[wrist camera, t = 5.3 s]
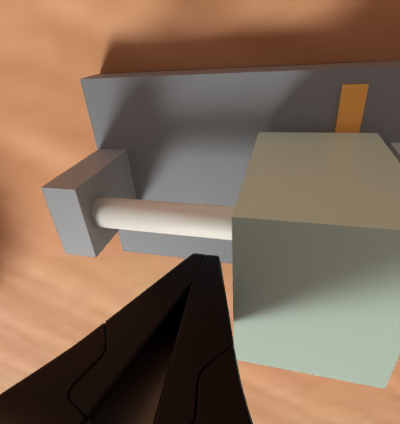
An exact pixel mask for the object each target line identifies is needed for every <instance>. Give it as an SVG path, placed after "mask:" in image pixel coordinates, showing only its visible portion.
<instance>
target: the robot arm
mask: <svg viewBox="0 0 400 424" xmlns="http://www.w3.org/2000/svg"><path fill="white" fill-rule="evenodd" d="M0 424H253V422H252V419H251V416H250V412H249V409H248V406H247V402H246V399H245V395H244V392H243V388H242V384H241V380H240V375H239V370H238V365H237V360H236V353H235V349H234V342H233V336H232V330H231V324H230V317H229V311H228V305H227V299H226V293H225V287H224V280H223V274H222V268H221V262H220V257H219V256H218V255H209V254H207V255H206V254H200V253H193V254H191V255H190V256H189V257H188V258H186V259H185V260H184V261H182V262H181V263H180V264H179V265H177V266H176V267H175V268H173V269H172V270H171V271H170V272H168V273H167V274H166V275H164V276H163V277H162V278H161V279H159V280H158V281H157V282H156V283H154V284H153V285H152V286H150V287H149V288H148V289H147V290H145V291H144V292H143V293H141V294H140V295H139V296H138V297H136V298H135V299H134V300H132V301H131V302H130V303H129V304H127V305H126V306H125V307H124V308H122V309H121V310H120V311H118V312H117V313H116V314H115V315H113V316H112V317H111V318H109V319H108V320H107V321H106V322H105V323H103V324H102V325H100V326H99V327H98V328H96V329H95V330H94V331H93V332H91V333H90V334H89V335H87V336H86V337H85V338H83V339H82V340H81V341H79V342H78V343H77V344H75V345H74V346H72V347H71V348H70V349H68V350H67V351H65V352H64V353H62V354H61V355H59V356H58V357H56V358H55V359H53V360H52V361H50V362H49V363H47V364H46V365H44V366H43V367H41V368H40V369H38V370H37V371H35V372H34V373H32V374H31V375H29V376H28V377H26V378H25V379H23V380H22V381H20V382H18V383H17V384H15V385H14V386H12V387H11V388H9V389H8V390H6V391H5V392H3V393H2V394H0Z"/></svg>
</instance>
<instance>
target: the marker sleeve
mask: <svg viewBox="0 0 400 424" xmlns="http://www.w3.org/2000/svg"><path fill="white" fill-rule="evenodd" d="M232 262H233V317H234V349H235V353H236V360H240V361H245V362H250V363H255V364H260V365H265V366H270V367H275V368H281V369H286V370H291V371H296V372H301V373H306V374H311V375H316V376H321V377H326V378H332V379H337V380H342V381H347V382H352V383H357V384H362V385H367V386H372V387H377V388H383V389H385V387H386V385H387V383H388V380H389V378H390V376H391V374H392V371H393V369H394V367H395V364H396V362H397V360H398V357H399V355H400V163H399V161H398V160H397V158H396V157H395V156H394V154H393V153H392V152H391V150H390V149H389V148H388V146H387V145H386V144H385V142H384V141H383V139H382V138H381V137H380V135H379V134H378V133H314V132H259V133H258V136H257V139H256V142H255V145H254V148H253V152H252V155H251V158H250V161H249V164H248V167H247V170H246V173H245V177H244V180H243V183H242V186H241V189H240V192H239V195H238V199H237V202H236V205H235V208H234V211H233V214H232Z"/></svg>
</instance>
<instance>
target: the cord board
mask: <svg viewBox="0 0 400 424" xmlns="http://www.w3.org/2000/svg"><path fill="white" fill-rule="evenodd" d="M80 80H81V84H82V88H83V92H84V96H85V100H86V104H87V108H88V112H89V116H90V120H91V124H92V128H93V132H94V136H95V140H96V144H97V148H98V150H97V151H95V152H94V153H92V154H91V155H89V156H88V157H86V158H85V159H83V160H82V161H80V162H79V163H77V164H76V165H74V166H73V167H71V168H70V169H68V170H67V171H65V172H64V173H62V174H61V175H59V176H58V177H56V178H55V179H53V180H52V181H50V182H49V183H47V184H46V185H44V186H43V187H41V189H42V192H43V194H44V197H45V200H46V202H47V205H48V208H49V210H50V213H51V216H52V218H53V221H54V224H55V226H56V229H57V232H58V235H59V237H60V240H61V243H62V245H63V248H64V251H65V253H66V254H72V255H80V256H88V257H97V256H98V255H99V253H100V252H101V251H102V250H103V249H104V247H105V246H106V245H107V244H108V243H109V241H110V240H111V239H112V238H113V237H114V235H115V234H116V233H117V232H119V236H120V240H121V244H122V248H123V251H129V252H137V253H146V254H154V255H163V256H171V257H180V258H188V257H189V256H190V255H191V254H193V253H200V254H206V255H207V254H209V255H218V256H219V257H220V262H222V263H231V264H233V262H232V214H233V211H234V208H235V205H236V202H237V199H238V195H239V192H240V189H241V186H242V183H243V180H244V177H245V173H246V170H247V167H248V164H249V161H250V158H251V155H252V152H253V148H254V145H255V142H256V139H257V136H258V133H259V132H314V133H378V134H379V135H380V137H381V138H382V139H383V141H384V142H385V144H386V145H387V146H388V148H389V149H390V150H391V152H392V153H393V154H394V156H395V157H396V158H397V160H398V161H399V163H400V60H399V61H376V62H354V63H331V64H309V65H286V66H264V67H241V68H219V69H196V70H174V71H151V72H129V73H106V74H97V75H93V76H89V77H86V78H82V79H80Z"/></svg>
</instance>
